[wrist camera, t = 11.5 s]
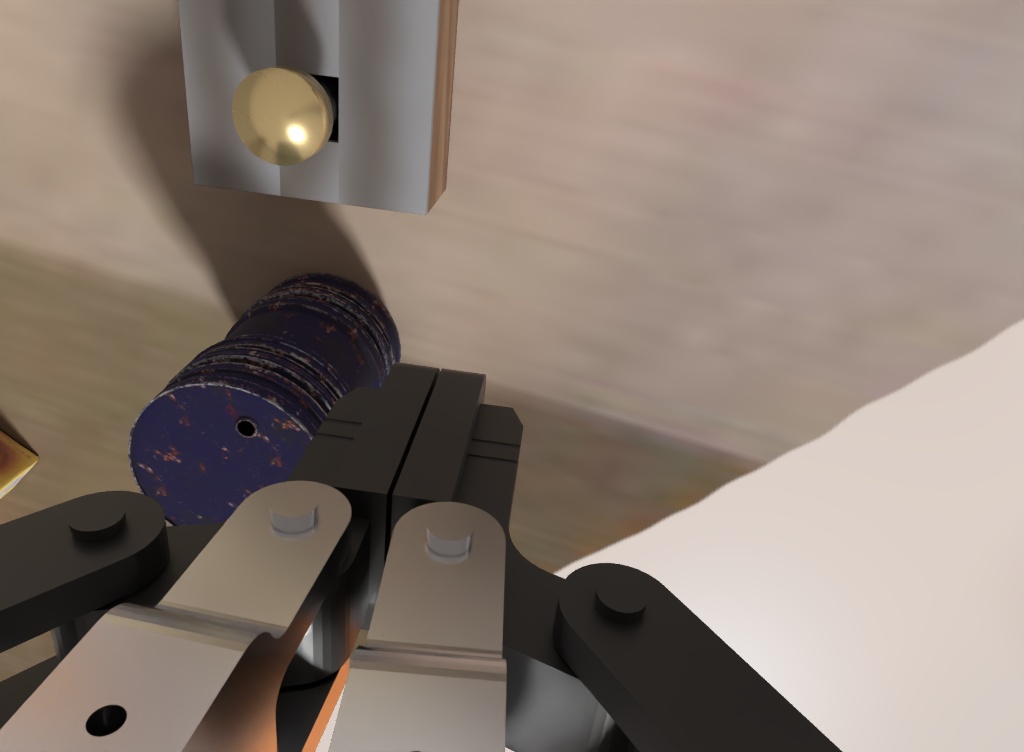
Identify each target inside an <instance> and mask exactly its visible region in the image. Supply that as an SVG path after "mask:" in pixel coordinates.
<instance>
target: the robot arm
mask: <svg viewBox="0 0 1024 752" xmlns="http://www.w3.org/2000/svg"><path fill="white" fill-rule="evenodd" d="M485 385H486V375H485V374H478V373H471V372H463V371H456V370H449V369H442V370H441V372H440V369H439V368H433V367H426V366H419V365H412V364H405V363H397V362H395V363H394V364H393V366H392V368H391V370H390V372H389V374H388V375H387V377H386V379H385V381H384V383H383V385H382V387H381V389H380V390H379V389H371V388H364V387H358V388H356V389H354V390H353V391H351V392H349V393H348V394H346V395H344V396H343V397H341V398H339V399H338V400H336V402H335V404H334V405H333V407H332V408H331V410H330V412H329V413H328V415H327V416H326V418H325V422H323V423H322V424H321V426H320V428H319V429H318V431H317V432H316V437H315V436H314V437H313V439H312V440H311V442H310V444H309V445H308V447H307V448H306V450H305V452H304V453H303V455H302V456H301V458H300V460H299V461H298V463H297V464H296V466H295V468H294V469H293V471H292V472H291V474H290V476H289V477H288V479H287V480H286V482H281V483H277V484H273V485H270V486H267V487H264V488H262V489H260V490H258V491H256V492H254V493H253V494H251V495H250V496H249V497H247V498H246V499H245V500H244V501H243V502H242V503H241V504H240V505H239V507H238V508H237V509H236V510H235V512H234V513H233V514H232V515H231V516H230V518H229V519H228V520H227V521H224V522H218V523H210V524H196V525H183V526H169V527H166V521H165V514H164V511H163V508H162V507H161V506H160V504H159V503H158V502H156V501H155V500H154V499H152V498H150V497H148V496H146V495H143V494H140V493H135V492H129V491H107V492H99V493H94V494H89V495H85V496H82V497H78V498H75V499H72V500H70V501H67V502H64V503H61V504H58V505H55V506H53V507H50V508H47V509H44V510H41V511H38V512H36V513H33V514H30V515H27V516H24V517H21V518H19V519H16V520H13V521H10V522H7V523H4V524H2V525H0V653H1V652H4V651H6V650H8V649H10V648H12V647H15V646H17V645H19V644H21V643H23V642H26V641H28V640H30V639H32V638H34V637H37V636H39V635H41V634H43V633H45V632H48V631H51V635H52V639H53V643H54V647H55V651H56V656H54V657H52V658H49V659H47V660H45V661H43V662H41V663H39V664H37V665H35V666H33V667H31V668H29V669H26V670H24V671H22V672H20V673H18V674H16V675H14V676H12V677H10V678H8V679H6V680H3V681H1V682H0V752H315V751H316V748H317V746H318V744H319V742H320V739H321V737H322V735H323V733H324V730H325V728H326V726H327V724H328V722H329V719H330V717H331V715H332V712H333V710H334V708H335V706H336V704H337V701H338V699H339V697H340V695H341V693H342V690H343V688H344V686H345V689H344V693H343V697H342V701H341V705H340V708H339V712H338V716H337V720H336V724H335V728H334V732H333V736H332V739H331V743H330V747H329V751H328V752H505V747H506V748H508V749H511V750H512V751H514V752H842V751H841V750H840V749H839V748H838V747H837V746H835V744H833V743H832V742H831V741H830V740H829V739H828V738H827V737H826V736H825V735H824V734H823V733H821V731H819V730H818V729H817V728H816V727H815V726H814V725H813V724H812V723H811V722H810V721H809V720H808V719H807V718H806V717H804V716H803V715H802V714H801V713H800V712H799V711H798V710H797V709H796V708H795V707H793V705H792V704H790V703H789V702H788V701H787V700H786V699H785V698H784V697H783V696H782V695H781V694H780V693H779V692H777V690H775V689H774V688H773V687H772V686H771V685H770V684H769V683H768V682H767V681H766V680H765V679H764V678H763V677H761V676H760V675H759V674H758V673H757V672H756V671H755V670H754V669H753V668H752V667H751V666H749V664H748V663H746V662H745V661H744V660H743V659H742V658H741V657H740V656H739V655H738V654H737V653H736V652H735V651H734V650H732V649H731V648H730V647H729V646H728V645H727V644H726V643H725V642H724V641H723V640H722V639H721V638H720V637H718V636H717V635H716V634H715V633H714V632H713V631H712V630H711V629H710V628H709V627H708V626H707V625H706V624H705V623H703V622H702V621H701V620H700V619H699V618H698V617H697V616H696V615H695V614H694V613H693V612H691V610H689V609H688V608H687V607H686V606H685V605H684V604H683V603H682V602H681V601H680V600H679V599H678V598H677V597H675V596H674V595H673V594H672V593H671V592H670V591H669V590H668V589H667V588H666V587H665V586H664V585H662V584H661V583H660V582H659V581H658V580H656V579H655V578H653V577H652V576H650V575H648V574H646V573H644V572H642V571H640V570H638V569H635V568H632V567H629V566H625V565H620V564H613V563H598V564H591V565H587V566H584V567H581V568H579V569H577V570H575V571H574V572H572V573H571V574H570V575H569V576H568V577H567V578H566V579H563V578H561V577H558V576H556V575H554V574H551V573H549V572H547V571H545V570H542V569H540V568H539V567H537V566H535V565H534V564H532V563H531V562H529V561H528V560H527V559H526V558H524V557H523V556H522V555H521V554H520V553H519V551H518V550H517V549H516V547H515V546H514V544H513V542H512V540H511V538H510V534H509V525H510V518H511V511H512V505H513V497H514V490H515V483H516V475H517V468H518V461H519V453H520V446H521V439H522V431H523V425H522V423H521V422H520V420H519V418H518V416H517V415H516V413H515V411H514V409H513V408H509V407H501V406H494V405H487V404H484V395H485ZM360 629H364V630H369V633H368V637H367V641H366V645H365V646H358V647H357V648H356V650H355V653H354V656H353V659H352V662H351V666H350V655H351V653H352V651H353V648H354V646H355V643H356V640H357V637H358V634H359V632H360ZM345 684H346V685H345Z"/></svg>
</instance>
